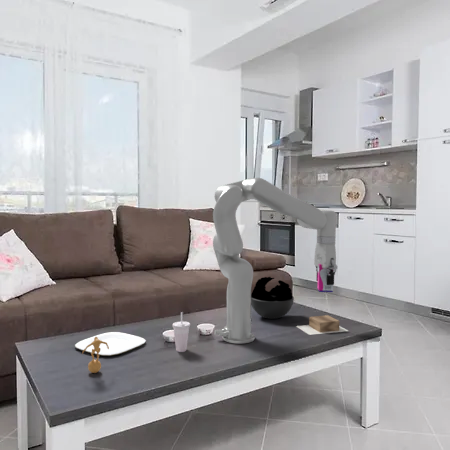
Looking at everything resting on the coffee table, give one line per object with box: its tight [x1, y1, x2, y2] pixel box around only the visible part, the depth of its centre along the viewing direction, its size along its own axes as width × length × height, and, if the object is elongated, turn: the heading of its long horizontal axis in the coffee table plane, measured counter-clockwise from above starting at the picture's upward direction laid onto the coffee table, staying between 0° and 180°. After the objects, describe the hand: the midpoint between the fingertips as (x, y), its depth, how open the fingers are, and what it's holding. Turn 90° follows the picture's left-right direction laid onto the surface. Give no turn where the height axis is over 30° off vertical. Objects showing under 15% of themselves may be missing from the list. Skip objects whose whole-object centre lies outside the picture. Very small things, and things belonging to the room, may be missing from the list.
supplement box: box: [316, 264, 334, 293], centre depth 183 cm, size 6×6×12 cm
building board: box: [295, 324, 349, 336], centre depth 184 cm, size 18×12×1 cm, turn 108°
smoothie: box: [172, 311, 191, 353], centre depth 159 cm, size 6×6×14 cm
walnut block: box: [308, 314, 341, 332], centre depth 184 cm, size 9×9×4 cm
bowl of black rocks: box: [251, 276, 295, 320], centre depth 201 cm, size 20×20×19 cm
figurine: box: [82, 337, 109, 374], centre depth 137 cm, size 8×6×12 cm
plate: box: [74, 331, 147, 357], centre depth 163 cm, size 22×22×2 cm
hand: (325, 282), depth 183 cm, fingers closed on supplement box, 7 cm apart
